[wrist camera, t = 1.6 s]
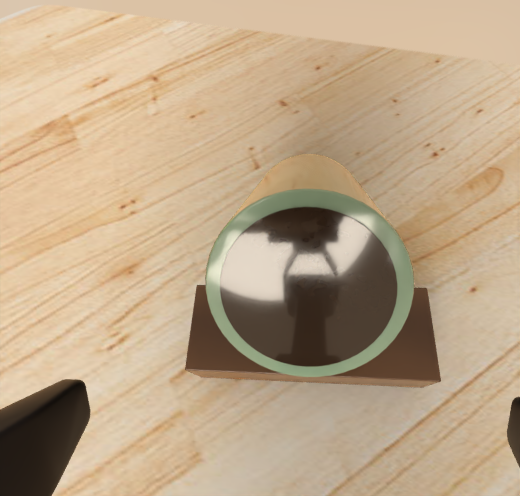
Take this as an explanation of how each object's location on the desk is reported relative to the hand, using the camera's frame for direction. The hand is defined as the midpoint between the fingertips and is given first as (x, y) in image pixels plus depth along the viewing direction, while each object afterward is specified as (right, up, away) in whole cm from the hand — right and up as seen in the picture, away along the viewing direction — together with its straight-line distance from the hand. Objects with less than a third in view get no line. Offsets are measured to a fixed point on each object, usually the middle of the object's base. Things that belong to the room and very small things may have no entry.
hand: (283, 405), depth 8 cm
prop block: (+2, -2, +13) cm, 13 cm away
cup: (+2, +1, +14) cm, 15 cm away
